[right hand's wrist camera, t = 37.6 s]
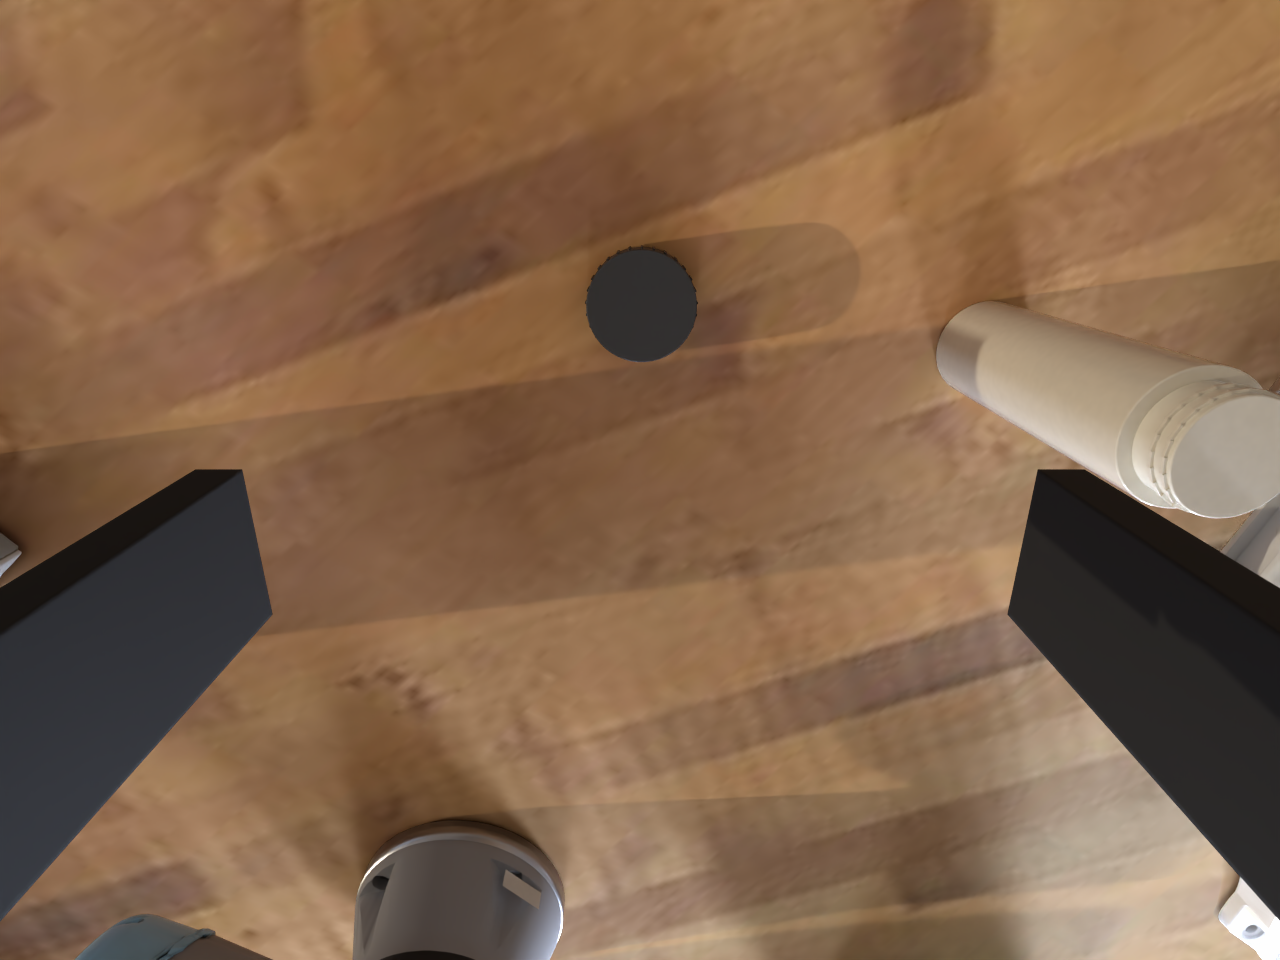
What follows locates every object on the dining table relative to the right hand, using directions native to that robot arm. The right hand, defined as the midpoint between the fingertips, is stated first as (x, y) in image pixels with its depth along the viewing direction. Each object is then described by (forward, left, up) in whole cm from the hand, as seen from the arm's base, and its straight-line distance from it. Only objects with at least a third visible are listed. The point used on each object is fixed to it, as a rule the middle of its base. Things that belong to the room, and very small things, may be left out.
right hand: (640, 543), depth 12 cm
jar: (-3, -19, -29) cm, 35 cm away
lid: (0, 0, -28) cm, 28 cm away
